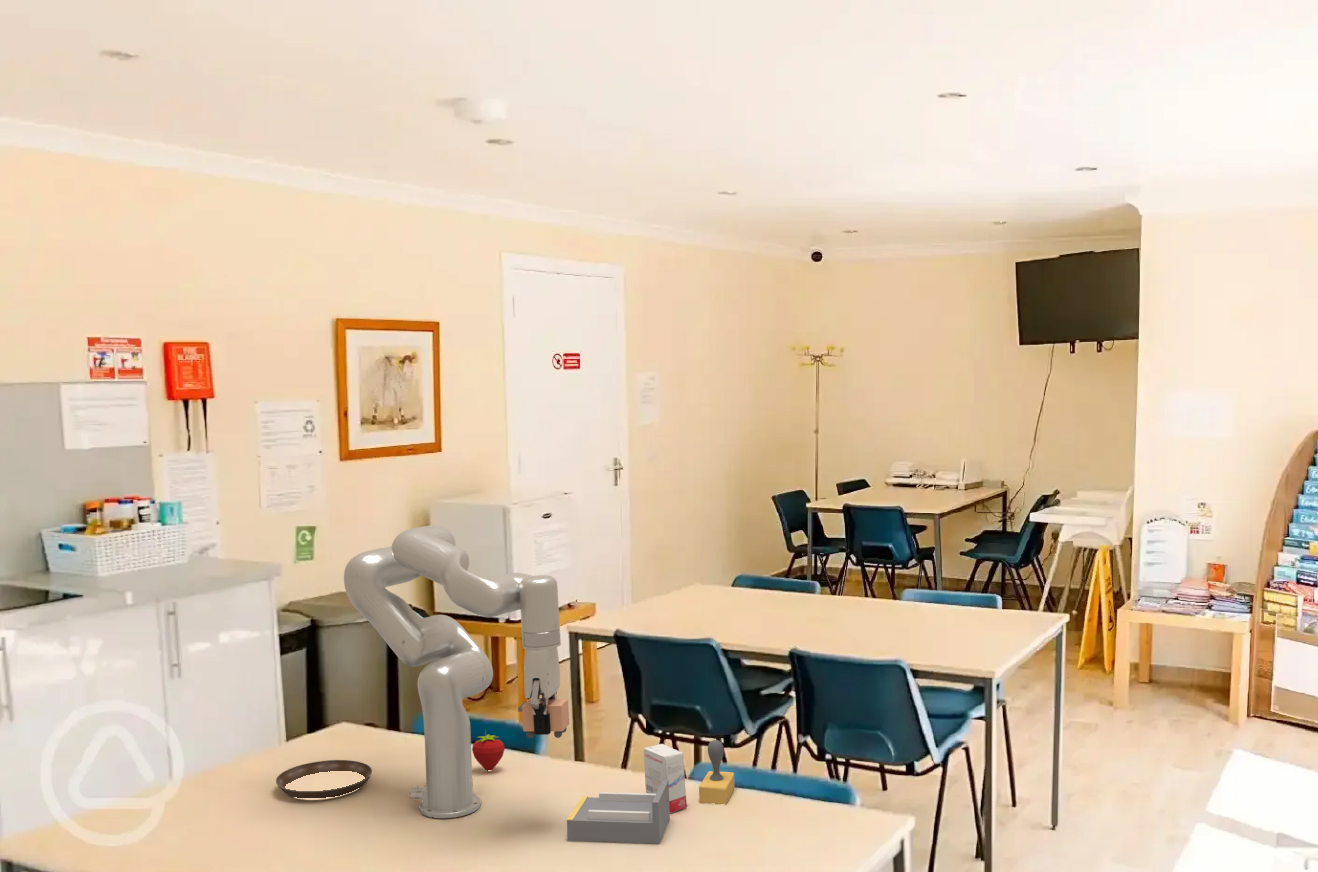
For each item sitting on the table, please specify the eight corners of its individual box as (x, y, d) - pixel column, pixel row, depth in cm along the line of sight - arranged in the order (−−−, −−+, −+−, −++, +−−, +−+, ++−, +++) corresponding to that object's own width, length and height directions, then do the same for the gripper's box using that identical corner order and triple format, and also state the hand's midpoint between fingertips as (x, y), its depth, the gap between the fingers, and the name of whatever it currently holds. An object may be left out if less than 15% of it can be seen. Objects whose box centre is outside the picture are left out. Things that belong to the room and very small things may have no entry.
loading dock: (567, 841, 218) (566, 800, 218) (582, 816, 230) (581, 777, 230) (659, 844, 215) (658, 802, 215) (669, 819, 227) (668, 780, 227)
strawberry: (501, 776, 257) (500, 733, 256) (469, 776, 257) (467, 732, 257) (508, 768, 262) (507, 725, 262) (477, 767, 263) (475, 725, 263)
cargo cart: (519, 739, 223) (518, 706, 222) (527, 731, 228) (525, 699, 227) (563, 739, 221) (561, 706, 221) (569, 731, 226) (567, 699, 226)
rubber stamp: (708, 787, 246) (706, 732, 245) (734, 788, 244) (733, 733, 244) (699, 803, 236) (697, 747, 236) (726, 805, 235) (724, 748, 234)
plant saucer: (392, 782, 256) (391, 767, 256) (320, 811, 238) (319, 796, 238) (329, 768, 267) (328, 754, 267) (256, 795, 250) (255, 781, 249)
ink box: (687, 809, 233) (686, 752, 232) (667, 815, 230) (665, 757, 229) (664, 797, 240) (662, 742, 240) (644, 803, 237) (642, 747, 237)
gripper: (535, 630, 233) (540, 718, 233) (509, 648, 216) (515, 743, 216) (570, 629, 231) (575, 718, 232) (547, 647, 215) (553, 743, 215)
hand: (546, 729), depth 224 cm, fingers closed on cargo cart, 5 cm apart
